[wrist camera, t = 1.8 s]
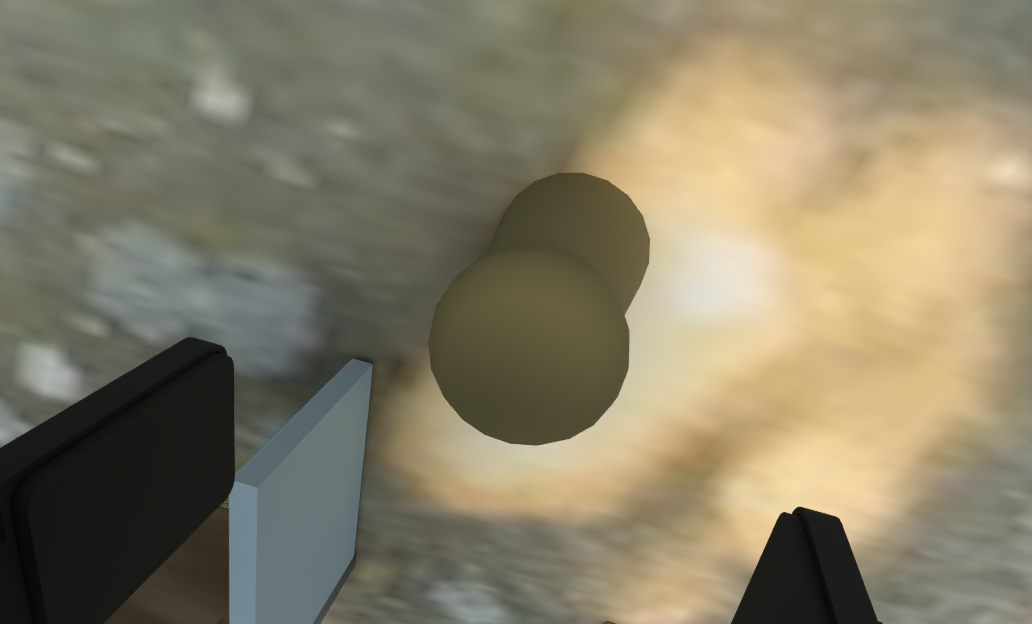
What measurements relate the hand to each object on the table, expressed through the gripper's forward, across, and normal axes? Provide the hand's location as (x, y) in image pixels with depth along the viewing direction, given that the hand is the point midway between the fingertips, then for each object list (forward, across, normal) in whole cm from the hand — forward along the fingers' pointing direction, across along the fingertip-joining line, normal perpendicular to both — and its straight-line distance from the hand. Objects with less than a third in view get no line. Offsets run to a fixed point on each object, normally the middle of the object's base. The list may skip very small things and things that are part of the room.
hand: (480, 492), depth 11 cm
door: (+15, +8, +14) cm, 22 cm away
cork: (+16, 0, +1) cm, 16 cm away
